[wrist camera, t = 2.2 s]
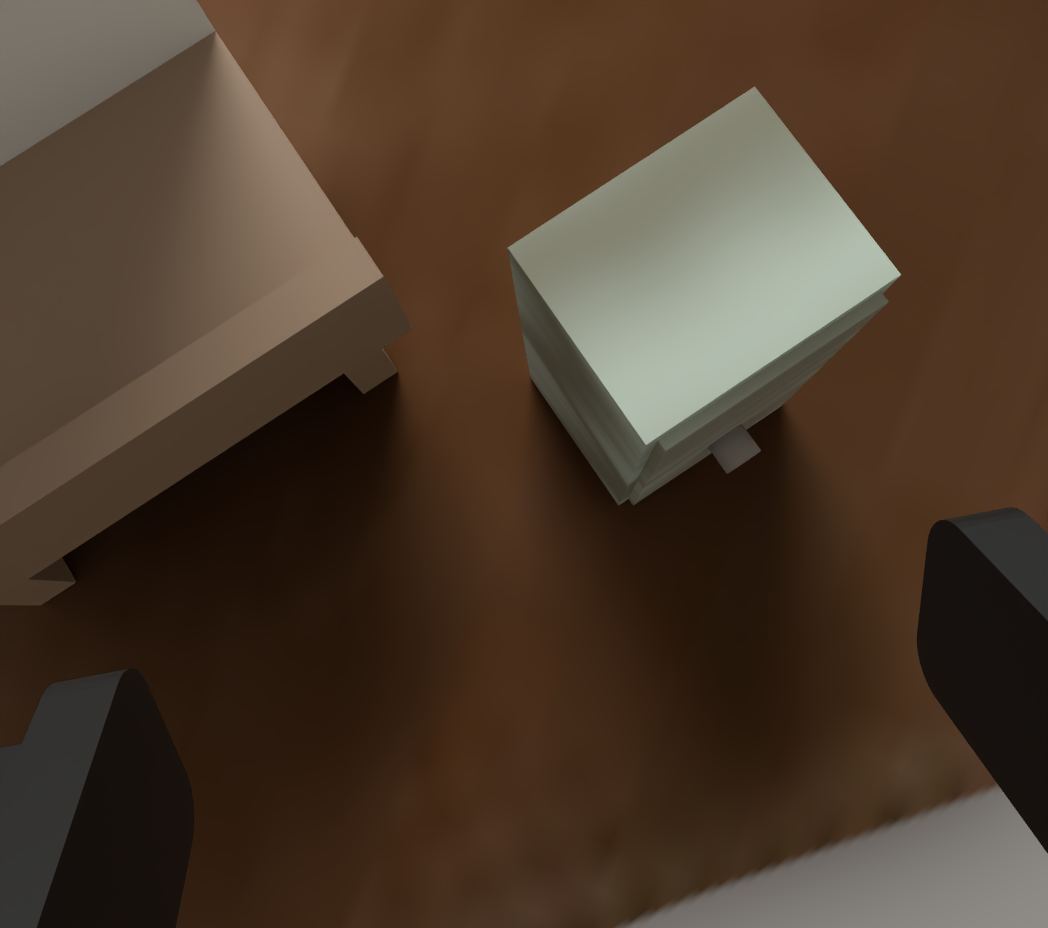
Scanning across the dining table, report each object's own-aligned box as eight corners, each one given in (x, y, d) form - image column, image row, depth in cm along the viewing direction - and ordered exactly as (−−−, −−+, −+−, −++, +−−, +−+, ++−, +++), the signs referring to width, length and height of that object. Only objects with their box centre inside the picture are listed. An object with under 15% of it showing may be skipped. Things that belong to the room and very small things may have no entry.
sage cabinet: (802, 426, 27) (936, 321, 17) (639, 536, 27) (679, 493, 17) (689, 272, 28) (754, 86, 18) (530, 377, 28) (507, 247, 18)
